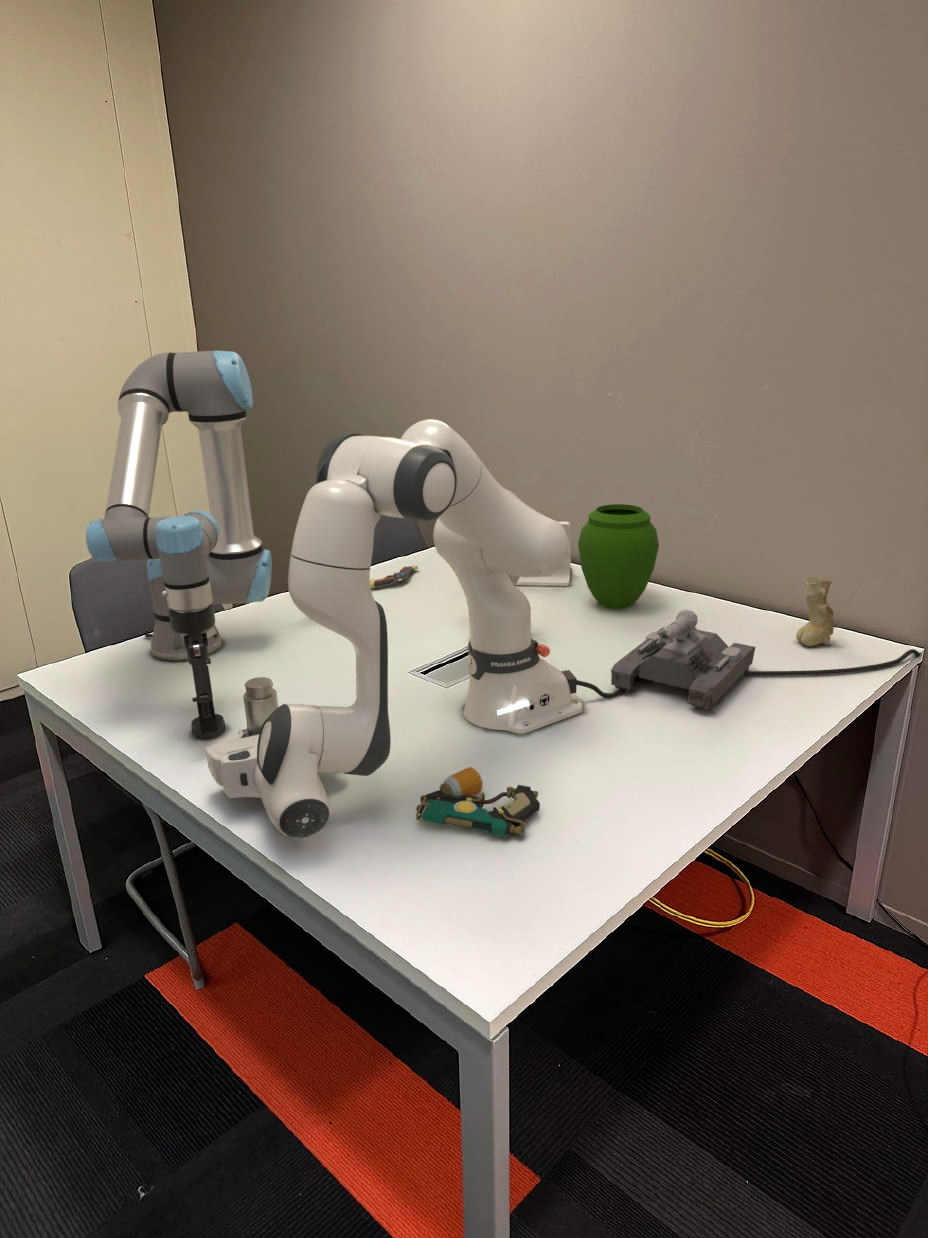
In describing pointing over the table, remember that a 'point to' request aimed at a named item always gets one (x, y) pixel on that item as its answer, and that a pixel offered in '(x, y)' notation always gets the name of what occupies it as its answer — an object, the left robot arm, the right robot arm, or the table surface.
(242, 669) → the table surface
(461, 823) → the spray gun
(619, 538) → the vase
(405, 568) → the multicoloured long piece
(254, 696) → the beige cylindrical container
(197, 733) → the lid
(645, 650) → the toy
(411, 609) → the table surface
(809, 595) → the sculpture
